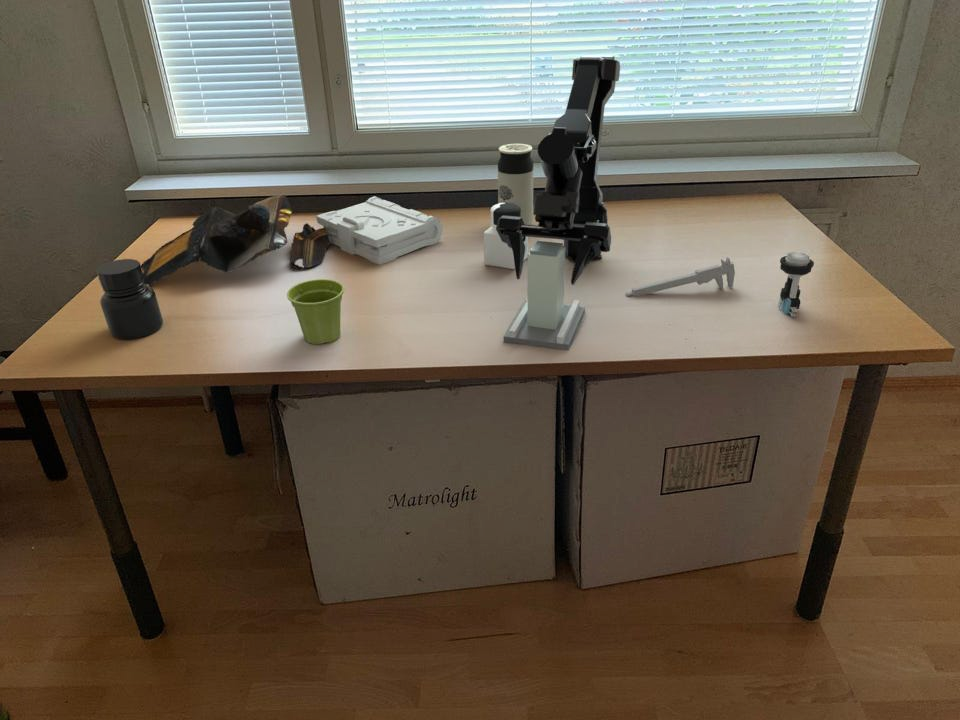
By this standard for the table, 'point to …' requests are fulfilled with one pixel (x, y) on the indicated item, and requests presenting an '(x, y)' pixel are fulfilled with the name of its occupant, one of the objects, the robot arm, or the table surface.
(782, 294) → the push button
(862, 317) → the table surface
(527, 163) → the travel mug
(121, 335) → the ink bottle
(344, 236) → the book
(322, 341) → the plant pot
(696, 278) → the caliper
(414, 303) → the table surface
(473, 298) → the table surface
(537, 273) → the block
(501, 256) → the medicine bottle
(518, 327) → the rail plate
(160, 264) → the toolset
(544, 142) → the robot arm
